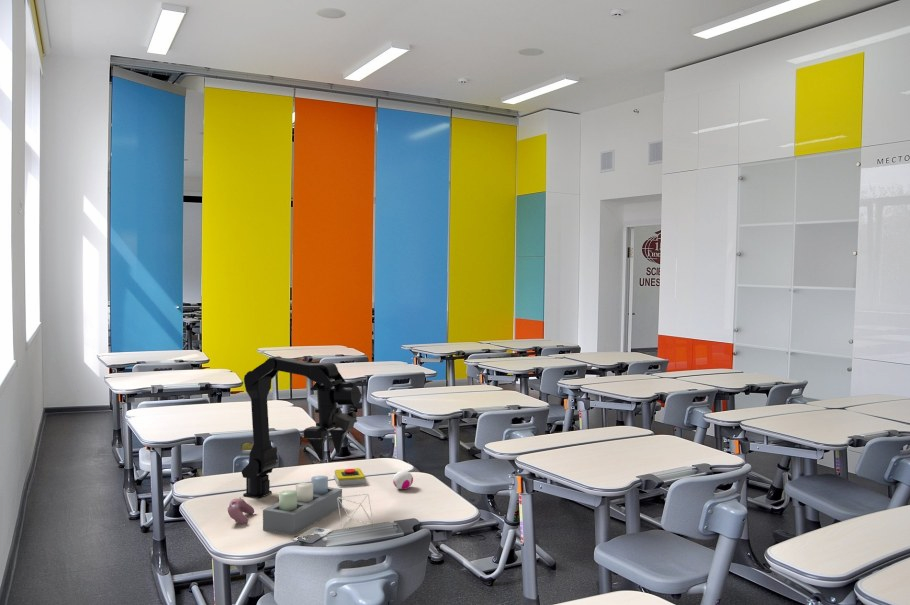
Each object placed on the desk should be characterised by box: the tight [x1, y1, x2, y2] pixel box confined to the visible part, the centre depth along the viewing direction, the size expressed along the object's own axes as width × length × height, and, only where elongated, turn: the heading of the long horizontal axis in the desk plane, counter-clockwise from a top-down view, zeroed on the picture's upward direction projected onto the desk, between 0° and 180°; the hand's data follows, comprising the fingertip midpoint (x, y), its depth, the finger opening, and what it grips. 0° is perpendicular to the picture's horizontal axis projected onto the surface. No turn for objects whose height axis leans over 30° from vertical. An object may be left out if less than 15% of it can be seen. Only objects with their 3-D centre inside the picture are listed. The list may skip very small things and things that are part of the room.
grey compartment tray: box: [262, 486, 343, 536], centre depth 198 cm, size 10×25×6 cm, turn 159°
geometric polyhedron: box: [337, 493, 374, 530], centre depth 193 cm, size 10×9×8 cm
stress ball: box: [392, 470, 414, 491], centre depth 227 cm, size 8×8×7 cm
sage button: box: [278, 489, 297, 512], centre depth 190 cm, size 5×5×5 cm
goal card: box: [292, 526, 334, 542], centre depth 184 cm, size 6×10×1 cm, turn 159°
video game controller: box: [227, 497, 255, 526], centre depth 196 cm, size 10×5×7 cm, turn 5°
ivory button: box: [295, 482, 313, 503], centre depth 198 cm, size 5×5×5 cm
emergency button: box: [333, 467, 367, 489], centre depth 236 cm, size 9×4×15 cm
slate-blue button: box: [310, 475, 329, 495], centre depth 205 cm, size 5×5×5 cm
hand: (330, 456), depth 209 cm, fingers open, 9 cm apart
